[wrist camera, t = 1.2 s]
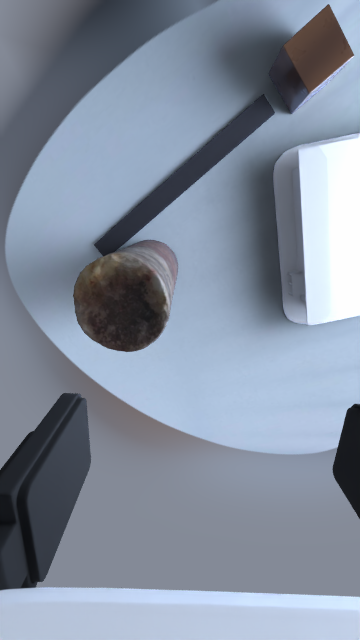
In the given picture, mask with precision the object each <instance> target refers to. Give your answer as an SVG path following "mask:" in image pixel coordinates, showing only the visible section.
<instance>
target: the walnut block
mask: <svg viewBox="0 0 360 640" xmlns="http://www.w3.org/2000/svg"><path fill="white" fill-rule="evenodd" d="M353 57H354V54H353V52H352V50H351V48H350V46H349V44H348V42H347V40H346V38H345V36H344V34H343V32H342V29H341V27H340V25H339V23H338V21H337V19H336V17H335V15H334V13H333V11H332V9H331V7H330V5H329V4H328V5H327V6H326V7H325V8H324V9H322V10H321V11H320V12H319V13H318V14H317V15H316V16H315V17H314V18H313V19H312V20H310V21H309V22H308V23H307V24H306V25H305V26H304V27H303V28H302V29H301V30H300V31H298V32H297V33H296V34H295V35H294V36H293V37H292V38H291V39H290V40H289V41H288V42H286V43H285V44H284V45H283V47H282V49H281V51H280V53H279V54H278V56H277V58H276V60H275V62H274V64H273V66H272V68H271V70H270V72H269V73H268V75H269V76H270V78H271V80H272V82H273V83H274V85H275V87H276V89H277V90H278V92H279V94H280V95H281V97H282V99H283V101H284V102H285V104H286V106H287V108H288V109H289V111H290V113H291V114H292V113H294V112H295V111H296V110H297V109H298V108H299V107H301V106H302V105H303V104H304V103H305V102H306V101H308V100H309V99H310V98H311V97H312V96H313V95H315V94H316V93H317V92H318V91H319V90H321V89H322V88H323V87H324V86H325V85H326V84H328V83H329V82H330V81H331V80H332V79H333V78H334V76H335V75H336V74H337V73H338V72H339V71H340V70H341V69H342V68H343V67H344V66H345V65H346V64H347V63H348V62H349V61H350V60H351V59H352V58H353Z"/></svg>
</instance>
